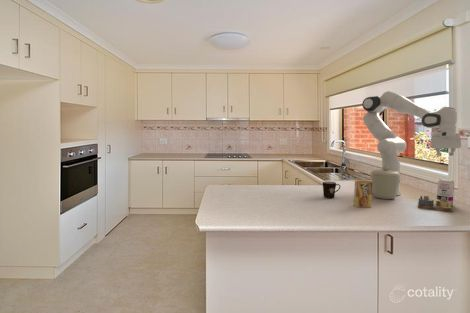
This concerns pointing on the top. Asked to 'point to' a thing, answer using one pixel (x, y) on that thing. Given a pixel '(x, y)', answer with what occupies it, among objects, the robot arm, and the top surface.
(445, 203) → the brass gear
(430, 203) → the gear
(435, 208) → the gear board
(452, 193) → the supplement can
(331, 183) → the coffee mug
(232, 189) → the top surface
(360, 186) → the candy box
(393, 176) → the canister
